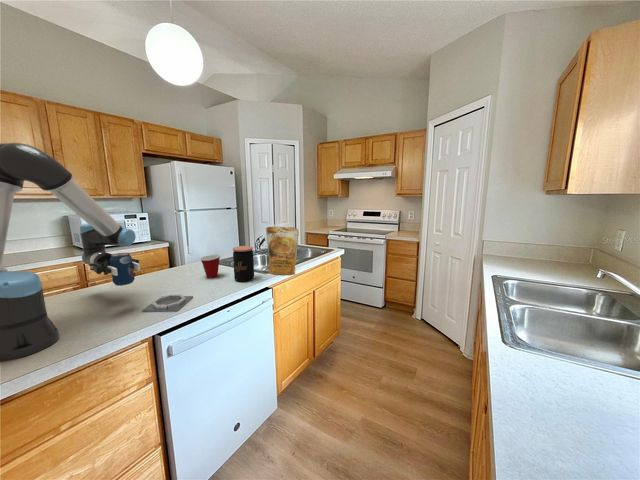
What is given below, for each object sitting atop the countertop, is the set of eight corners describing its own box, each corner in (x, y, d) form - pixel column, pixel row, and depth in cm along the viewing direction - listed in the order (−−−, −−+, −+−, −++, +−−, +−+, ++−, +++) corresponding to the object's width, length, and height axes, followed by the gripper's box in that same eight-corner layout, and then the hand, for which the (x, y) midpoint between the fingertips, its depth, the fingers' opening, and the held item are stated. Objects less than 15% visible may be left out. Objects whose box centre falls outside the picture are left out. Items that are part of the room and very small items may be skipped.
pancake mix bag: (269, 271, 158) (268, 226, 153) (299, 272, 154) (298, 226, 149) (265, 274, 151) (263, 227, 146) (296, 276, 148) (295, 228, 143)
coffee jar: (230, 280, 140) (228, 248, 137) (244, 275, 149) (242, 245, 146) (244, 283, 135) (243, 250, 132) (258, 278, 145) (257, 247, 141)
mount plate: (142, 311, 103) (141, 307, 103) (162, 297, 117) (161, 293, 116) (177, 311, 103) (177, 306, 103) (193, 297, 117) (192, 293, 117)
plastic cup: (201, 275, 149) (199, 255, 147) (221, 272, 154) (219, 253, 152) (201, 281, 140) (199, 259, 137) (222, 278, 144) (221, 257, 142)
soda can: (136, 283, 102) (132, 254, 100) (114, 287, 98) (109, 257, 96) (133, 279, 107) (129, 251, 105) (112, 283, 103) (108, 254, 101)
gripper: (131, 264, 120) (156, 272, 108) (75, 275, 103) (97, 286, 91) (129, 248, 118) (154, 255, 106) (72, 257, 102) (93, 266, 90)
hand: (127, 269), depth 99 cm, fingers closed on soda can, 7 cm apart
